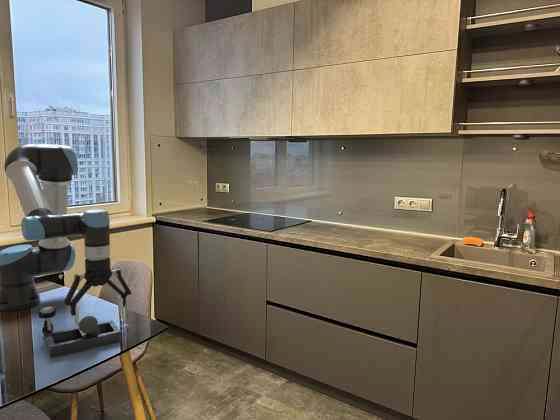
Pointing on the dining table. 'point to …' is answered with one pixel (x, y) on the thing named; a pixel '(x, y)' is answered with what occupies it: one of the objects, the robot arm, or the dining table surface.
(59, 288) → the dining table surface
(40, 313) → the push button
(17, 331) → the dining table surface
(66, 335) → the rectangular frame
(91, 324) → the light bulb
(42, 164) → the robot arm
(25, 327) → the dining table surface
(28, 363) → the dining table surface
